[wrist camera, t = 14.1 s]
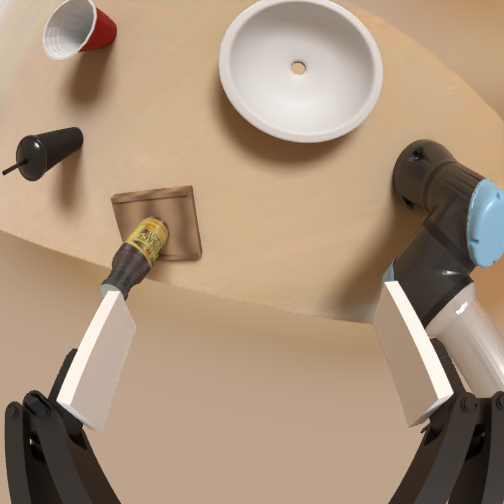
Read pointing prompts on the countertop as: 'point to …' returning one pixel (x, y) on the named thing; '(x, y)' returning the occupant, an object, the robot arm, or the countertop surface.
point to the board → (168, 209)
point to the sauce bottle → (136, 256)
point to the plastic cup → (76, 29)
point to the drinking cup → (45, 151)
